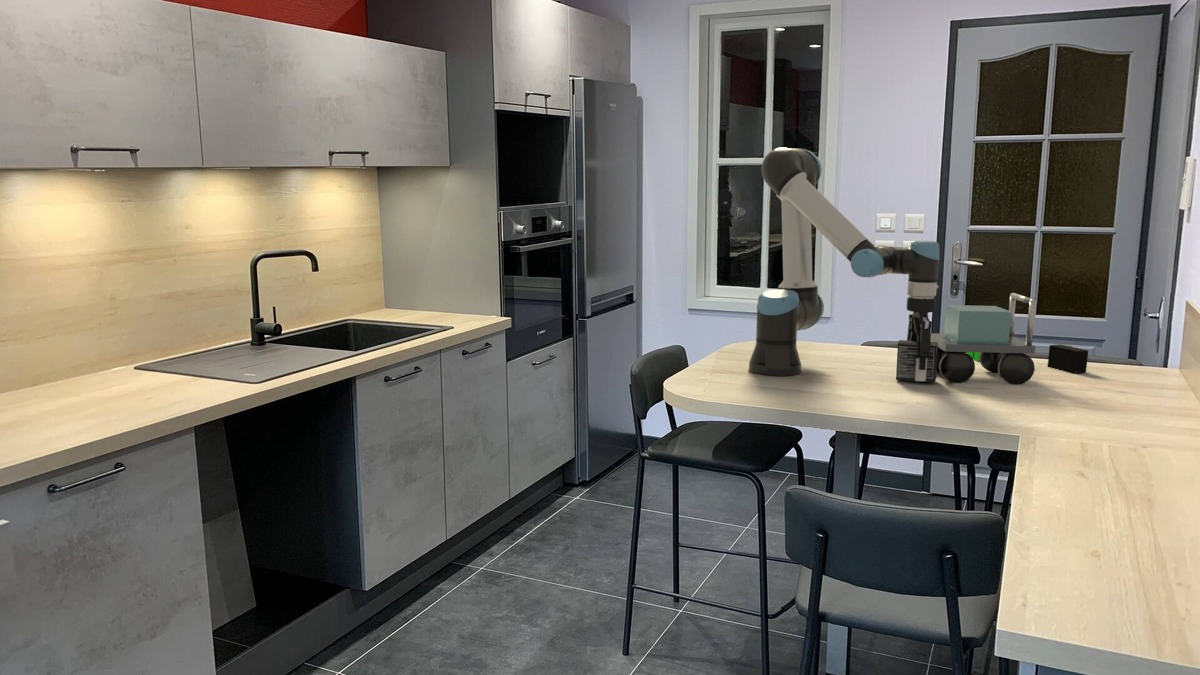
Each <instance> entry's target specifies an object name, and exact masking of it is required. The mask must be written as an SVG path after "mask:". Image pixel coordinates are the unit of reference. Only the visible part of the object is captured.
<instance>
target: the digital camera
mask: <svg viewBox="0 0 1200 675" xmlns="http://www.w3.org/2000/svg"><path fill="white" fill-rule="evenodd" d="M1048 349H1049V350H1048V359H1047V368H1049V367H1050V369H1053V368H1054V369H1053V370H1057V369H1058V371H1061V370H1062V372H1065V371H1066V372H1065V373H1070V374H1074V375H1081V374H1086V373H1087V367H1088V357H1089V350H1087V349H1082V348H1078V347H1074V346H1072V345H1065V344H1050V345H1049V348H1048Z"/></svg>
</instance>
